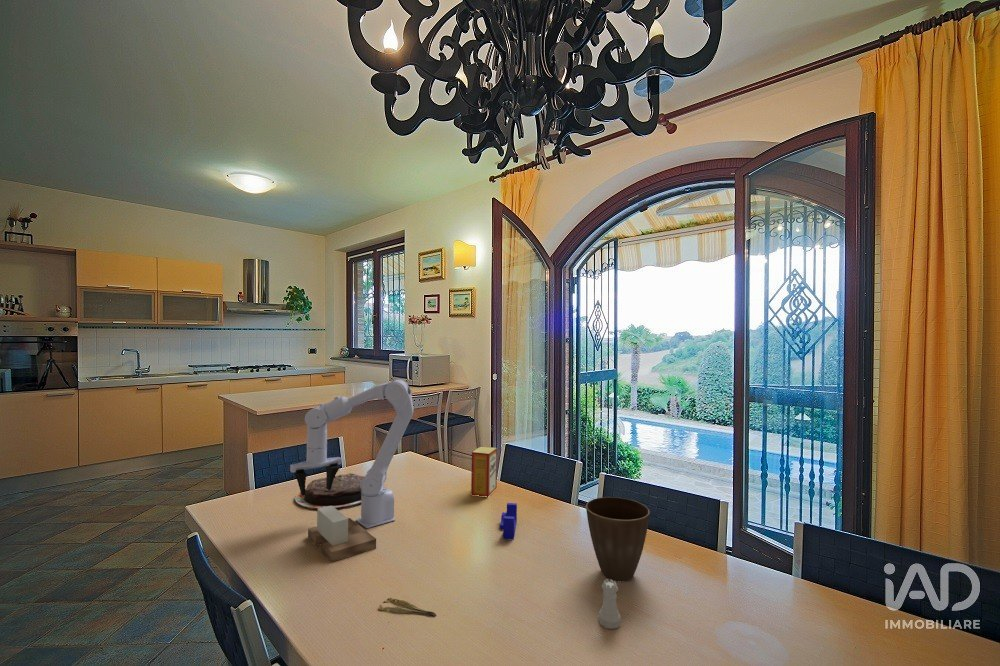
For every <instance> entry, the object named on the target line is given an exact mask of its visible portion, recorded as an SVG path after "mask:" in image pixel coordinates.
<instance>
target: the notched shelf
mask: <svg viewBox="0 0 1000 666" xmlns="http://www.w3.org/2000/svg"><path fill="white" fill-rule="evenodd" d="M347 518H348V542H344V543H341V544H337V545H334V546H332V545H331V544H330V543H329V542H328V541H327V540H326V539H325V538H324V537H323V536H322V535H321V534H320V533H319V532H318V531H317V525H316V526H313V527H309V528H307V538H308V540H309V541H310V542H311V543H312V544H313V543H314V544H315V545H317V546H321V545H322V546H321V550H322V551H321V553H322V554H323V555H324V556H325V558H327V560H328V561H329V560H330V561H329V562H330V563H334V562H336V561H340V560H342V559H347V558H349V557H352V556H357V555H359V554H362V553H365V552H368V551H372V550H375V549H377V538H376V537H375V536H373V535H372V533H370V532H368V530H366V529H364V527H362V525H359V524H358V522H357V521H354V520H353V519H352V518H351V517H347ZM314 544H313V545H314ZM320 544H321V545H320ZM315 545H314V546H315Z"/></svg>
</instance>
